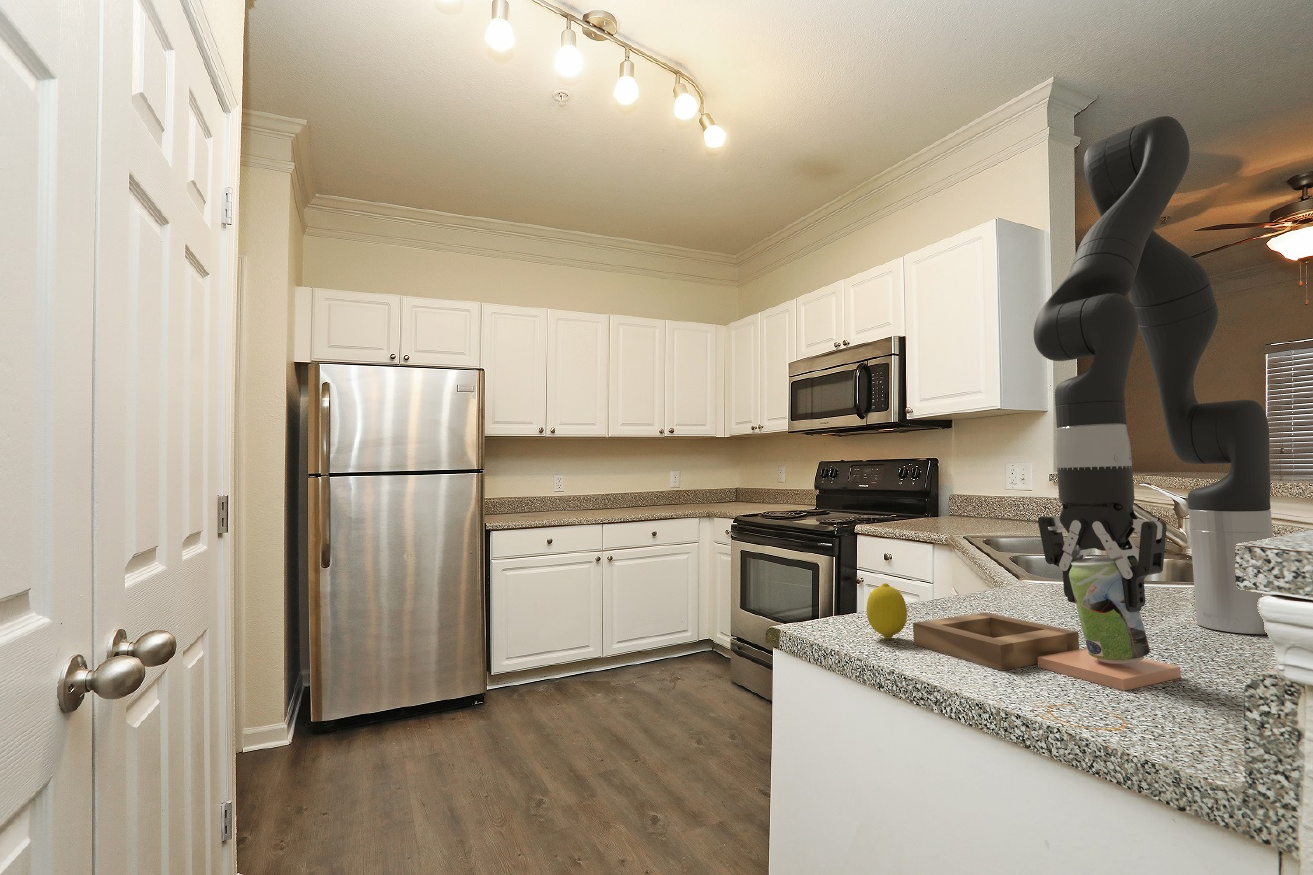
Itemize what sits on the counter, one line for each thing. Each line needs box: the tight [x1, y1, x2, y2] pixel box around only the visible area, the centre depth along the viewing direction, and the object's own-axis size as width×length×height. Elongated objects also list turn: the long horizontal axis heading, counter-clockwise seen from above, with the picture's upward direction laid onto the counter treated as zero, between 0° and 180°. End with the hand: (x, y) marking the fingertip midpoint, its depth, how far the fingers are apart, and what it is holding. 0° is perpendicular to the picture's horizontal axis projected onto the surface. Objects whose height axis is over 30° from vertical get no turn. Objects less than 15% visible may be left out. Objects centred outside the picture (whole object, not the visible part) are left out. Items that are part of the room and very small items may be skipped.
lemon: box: [866, 582, 908, 640], centre depth 95 cm, size 6×6×8 cm
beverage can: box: [1069, 556, 1151, 664], centre depth 77 cm, size 6×7×12 cm
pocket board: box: [912, 612, 1080, 672], centre depth 88 cm, size 14×14×3 cm
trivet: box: [1037, 647, 1182, 692], centre depth 77 cm, size 10×10×1 cm
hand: (1103, 605), depth 78 cm, fingers closed on beverage can, 6 cm apart
